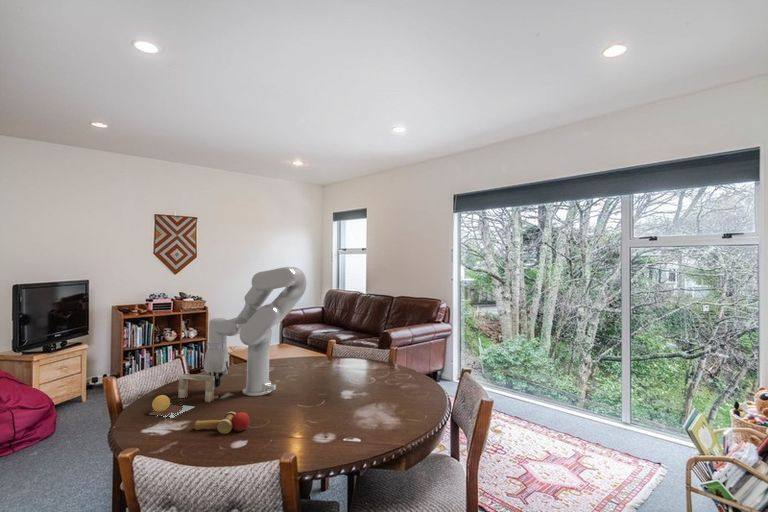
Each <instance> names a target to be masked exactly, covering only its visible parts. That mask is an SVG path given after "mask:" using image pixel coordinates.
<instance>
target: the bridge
mask: <svg viewBox="0 0 768 512" xmlns="http://www.w3.org/2000/svg"><path fill="white" fill-rule="evenodd" d="M189 380H192V381H201V382H202V381H203V382H205V388H204V389H205V391H204V392H205V394H204V402H205V403H210V402H213V401H214V400H215V387H214V382H215V376H211V375H203V374H195V373H194V374H191V373H182V374H179V375H178V392H177V393H178V396H177V399H178V398H184V399H186V398H187V397H188V392H189V391H188V389H189V385H188V384H189ZM185 397H186V398H185Z"/></svg>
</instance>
